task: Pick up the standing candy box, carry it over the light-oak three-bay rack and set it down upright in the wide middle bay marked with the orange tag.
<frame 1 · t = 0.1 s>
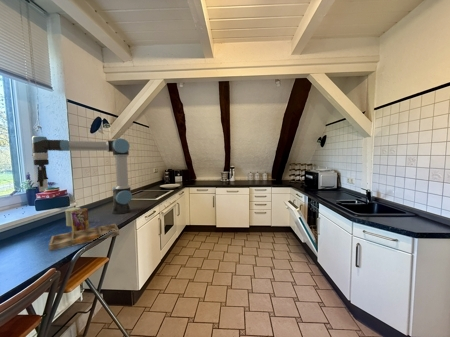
hand: (43, 189, 137), 28 cm above the countertop, fingers open, 13 cm apart
candy box: (80, 232, 133), on the countertop
rack: (86, 238, 123), on the countertop
can: (74, 224, 149), on the countertop
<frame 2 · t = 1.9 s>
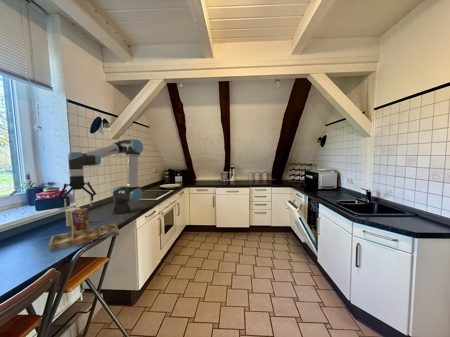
hand: (78, 207, 132), 17 cm above the countertop, fingers open, 13 cm apart
nothing on the countertop moved.
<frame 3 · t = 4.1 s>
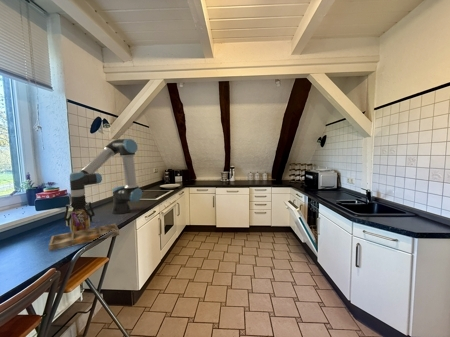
hand: (80, 228, 133), 3 cm above the countertop, fingers closed on candy box, 9 cm apart
candy box: (80, 232, 133), on the countertop, touching gripper
everything else where it was.
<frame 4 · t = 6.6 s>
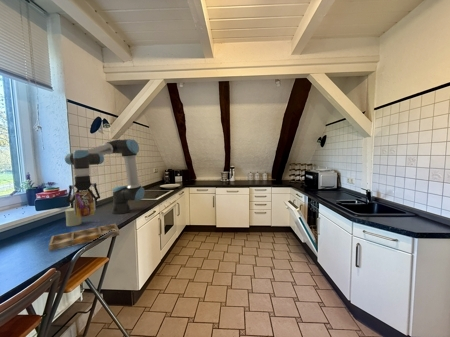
hand: (85, 211, 122), 17 cm above the countertop, fingers closed on candy box, 9 cm apart
candy box: (85, 215, 122), point 14 cm above the countertop, touching gripper
everything else where it was.
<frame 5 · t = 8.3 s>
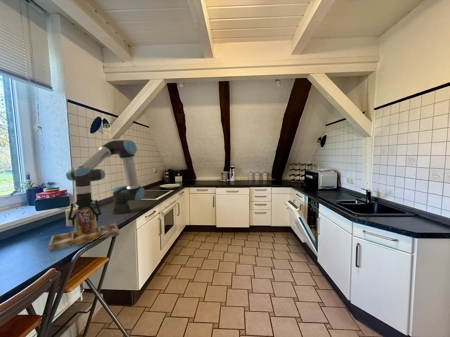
hand: (86, 228, 123), 6 cm above the countertop, fingers closed on candy box, 9 cm apart
candy box: (86, 232, 123), point 4 cm above the countertop, touching gripper
everything else where it was.
when the fingers open (5 cm above the countertop, at t = 9.6 s): candy box drops 1 cm, resting on rack.
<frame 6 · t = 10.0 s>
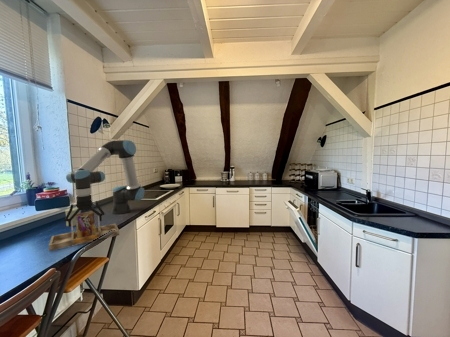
hand: (86, 228, 123), 6 cm above the countertop, fingers open, 13 cm apart
candy box: (86, 237, 123), point 1 cm above the countertop, touching rack
everything else where it was.
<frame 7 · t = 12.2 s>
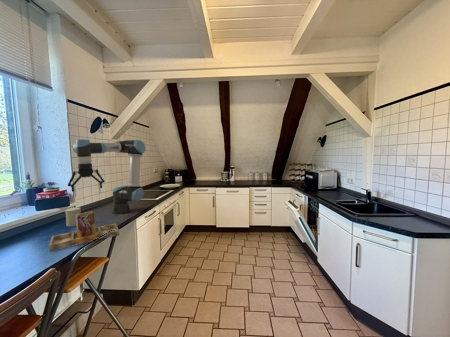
hand: (88, 194, 133), 25 cm above the countertop, fingers open, 13 cm apart
nothing on the countertop moved.
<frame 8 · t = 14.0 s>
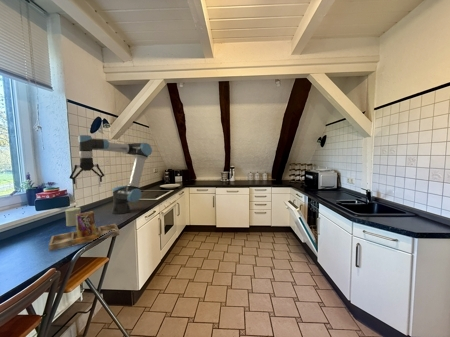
hand: (88, 187, 140), 29 cm above the countertop, fingers open, 13 cm apart
nothing on the countertop moved.
at the end: candy box inside the target area on the rack (0.1 cm from its centre), point 0.6 cm above the rack's base; candy box tilted 0°; the gripper is holding nothing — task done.
